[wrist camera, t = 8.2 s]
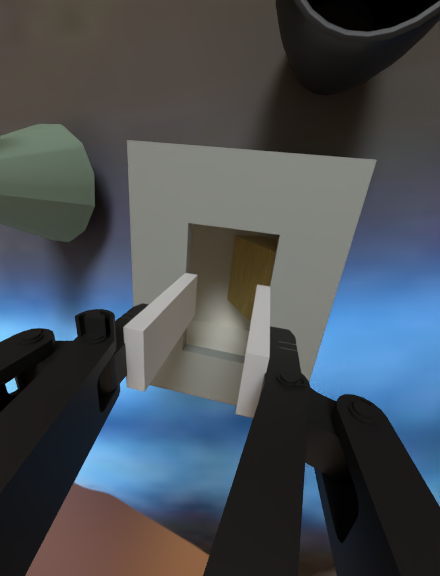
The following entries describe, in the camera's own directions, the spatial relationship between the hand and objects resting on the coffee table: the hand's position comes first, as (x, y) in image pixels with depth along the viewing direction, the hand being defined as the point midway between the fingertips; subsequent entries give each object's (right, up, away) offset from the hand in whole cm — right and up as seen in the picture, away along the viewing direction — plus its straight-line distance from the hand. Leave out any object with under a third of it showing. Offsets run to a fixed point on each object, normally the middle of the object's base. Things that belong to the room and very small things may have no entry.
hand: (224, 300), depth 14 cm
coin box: (+2, +4, +9) cm, 10 cm away
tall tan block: (+2, +3, +8) cm, 8 cm away
